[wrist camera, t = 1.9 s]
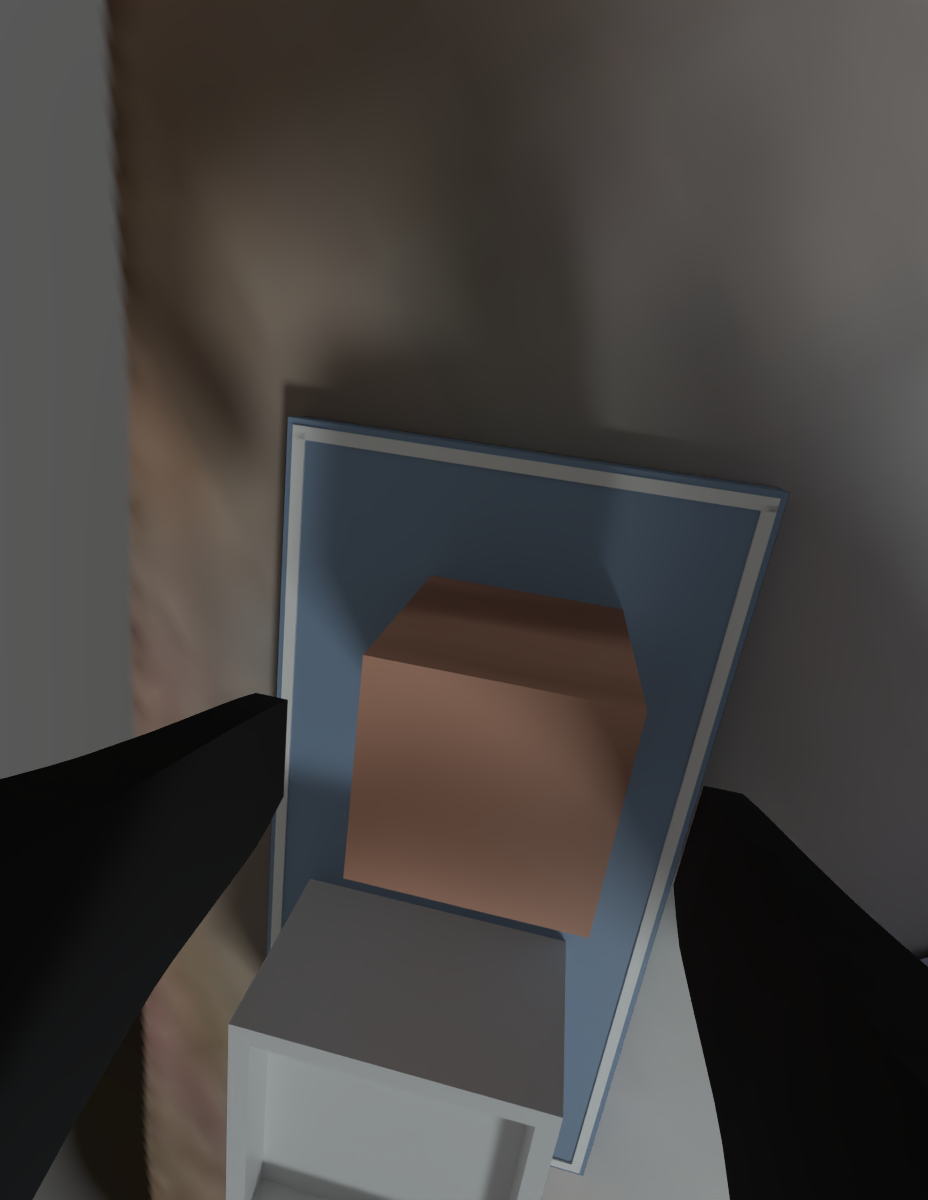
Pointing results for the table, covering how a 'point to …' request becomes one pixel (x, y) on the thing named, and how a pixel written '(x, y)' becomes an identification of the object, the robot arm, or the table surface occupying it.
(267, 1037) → the socket pedestal
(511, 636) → the terracotta block
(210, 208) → the table surface
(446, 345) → the table surface
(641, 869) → the board
